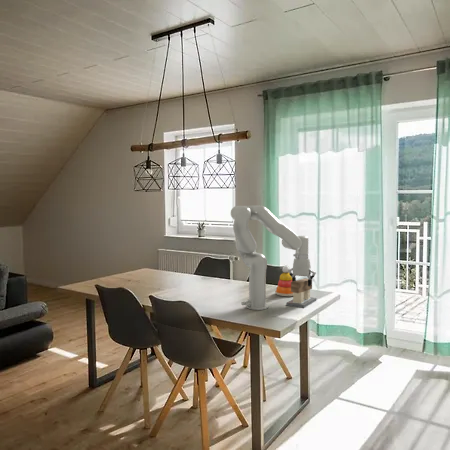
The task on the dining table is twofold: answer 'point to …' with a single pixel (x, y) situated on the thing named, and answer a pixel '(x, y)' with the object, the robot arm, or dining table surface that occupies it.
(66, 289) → the dining table surface
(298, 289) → the walnut beam
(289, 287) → the stacking toy
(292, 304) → the plate
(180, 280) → the dining table surface
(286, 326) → the dining table surface
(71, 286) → the dining table surface
